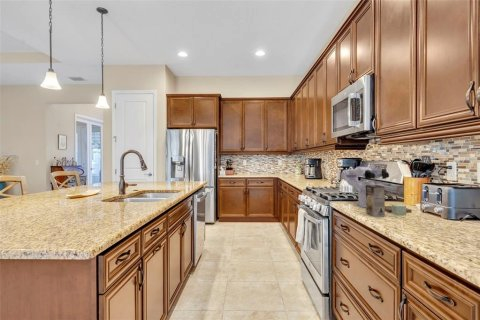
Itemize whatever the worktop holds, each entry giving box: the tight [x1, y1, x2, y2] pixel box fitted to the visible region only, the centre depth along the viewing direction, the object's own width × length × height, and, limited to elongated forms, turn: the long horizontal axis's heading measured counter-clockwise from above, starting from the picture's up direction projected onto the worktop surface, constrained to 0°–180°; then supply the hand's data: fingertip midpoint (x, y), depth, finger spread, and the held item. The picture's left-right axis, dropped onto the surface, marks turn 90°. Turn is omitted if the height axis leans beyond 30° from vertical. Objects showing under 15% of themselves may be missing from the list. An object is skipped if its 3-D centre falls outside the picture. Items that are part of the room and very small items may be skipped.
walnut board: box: [385, 205, 413, 214], centre depth 153 cm, size 12×12×2 cm
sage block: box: [391, 203, 407, 216], centre depth 143 cm, size 5×5×5 cm
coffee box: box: [365, 184, 386, 217], centre depth 143 cm, size 9×6×16 cm
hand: (381, 175), depth 147 cm, fingers open, 7 cm apart
